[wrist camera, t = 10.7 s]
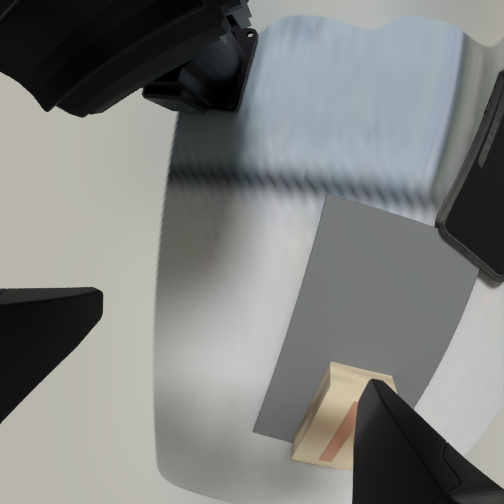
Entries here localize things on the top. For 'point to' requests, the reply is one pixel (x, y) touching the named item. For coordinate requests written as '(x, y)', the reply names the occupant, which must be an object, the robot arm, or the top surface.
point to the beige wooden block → (333, 417)
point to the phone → (480, 194)
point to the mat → (368, 308)
